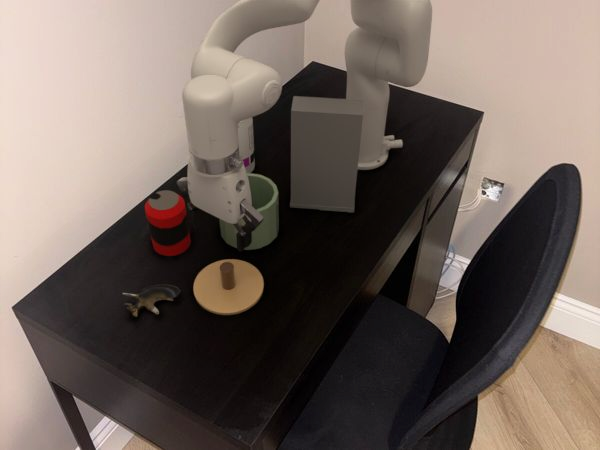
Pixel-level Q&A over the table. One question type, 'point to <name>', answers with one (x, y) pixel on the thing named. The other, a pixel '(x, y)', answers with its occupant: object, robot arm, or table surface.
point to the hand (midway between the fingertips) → (222, 235)
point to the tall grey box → (325, 152)
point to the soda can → (168, 223)
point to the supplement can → (246, 144)
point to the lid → (228, 287)
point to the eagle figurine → (151, 297)
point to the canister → (266, 205)
